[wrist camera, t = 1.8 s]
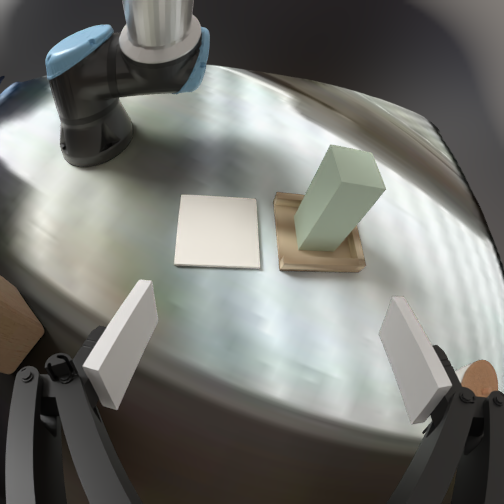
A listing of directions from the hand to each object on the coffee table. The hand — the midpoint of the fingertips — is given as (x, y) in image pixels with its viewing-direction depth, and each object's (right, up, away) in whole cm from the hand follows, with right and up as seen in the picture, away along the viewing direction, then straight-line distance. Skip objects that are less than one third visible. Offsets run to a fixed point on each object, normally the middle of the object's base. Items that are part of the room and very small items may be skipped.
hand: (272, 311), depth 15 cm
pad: (-6, +6, +29) cm, 30 cm away
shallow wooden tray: (+9, +6, +31) cm, 33 cm away
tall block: (+9, +6, +31) cm, 32 cm away
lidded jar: (+33, -22, +22) cm, 46 cm away
